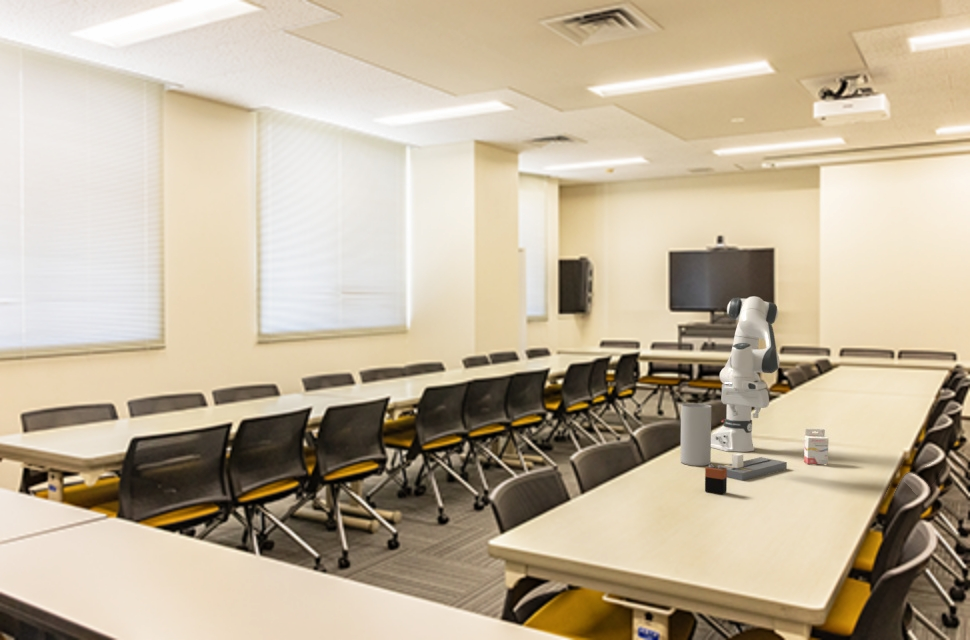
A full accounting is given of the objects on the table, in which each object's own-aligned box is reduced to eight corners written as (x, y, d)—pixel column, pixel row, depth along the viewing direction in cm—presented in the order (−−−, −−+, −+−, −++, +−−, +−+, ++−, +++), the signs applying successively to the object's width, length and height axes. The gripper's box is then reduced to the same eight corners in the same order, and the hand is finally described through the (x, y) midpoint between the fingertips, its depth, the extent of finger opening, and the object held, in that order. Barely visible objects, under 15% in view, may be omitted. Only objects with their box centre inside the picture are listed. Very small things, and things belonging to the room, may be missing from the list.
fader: (732, 471, 297) (732, 454, 297) (737, 470, 299) (738, 453, 299) (737, 473, 295) (737, 455, 295) (743, 471, 297) (743, 454, 297)
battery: (723, 495, 268) (723, 467, 268) (704, 492, 272) (704, 465, 271) (726, 492, 271) (727, 465, 271) (708, 489, 275) (708, 462, 275)
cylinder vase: (714, 466, 313) (715, 407, 312) (684, 466, 313) (685, 407, 312) (705, 460, 326) (706, 403, 325) (677, 459, 325) (677, 403, 325)
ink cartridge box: (807, 464, 317) (808, 430, 316) (803, 462, 322) (804, 428, 321) (828, 465, 316) (829, 431, 316) (824, 462, 321) (824, 429, 321)
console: (715, 474, 298) (715, 467, 298) (760, 464, 318) (760, 457, 318) (742, 480, 289) (742, 472, 289) (786, 469, 308) (786, 462, 308)
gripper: (717, 382, 309) (719, 415, 309) (761, 386, 293) (763, 420, 293) (726, 380, 313) (727, 412, 313) (770, 383, 296) (772, 417, 297)
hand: (745, 416), depth 303 cm, fingers open, 8 cm apart
